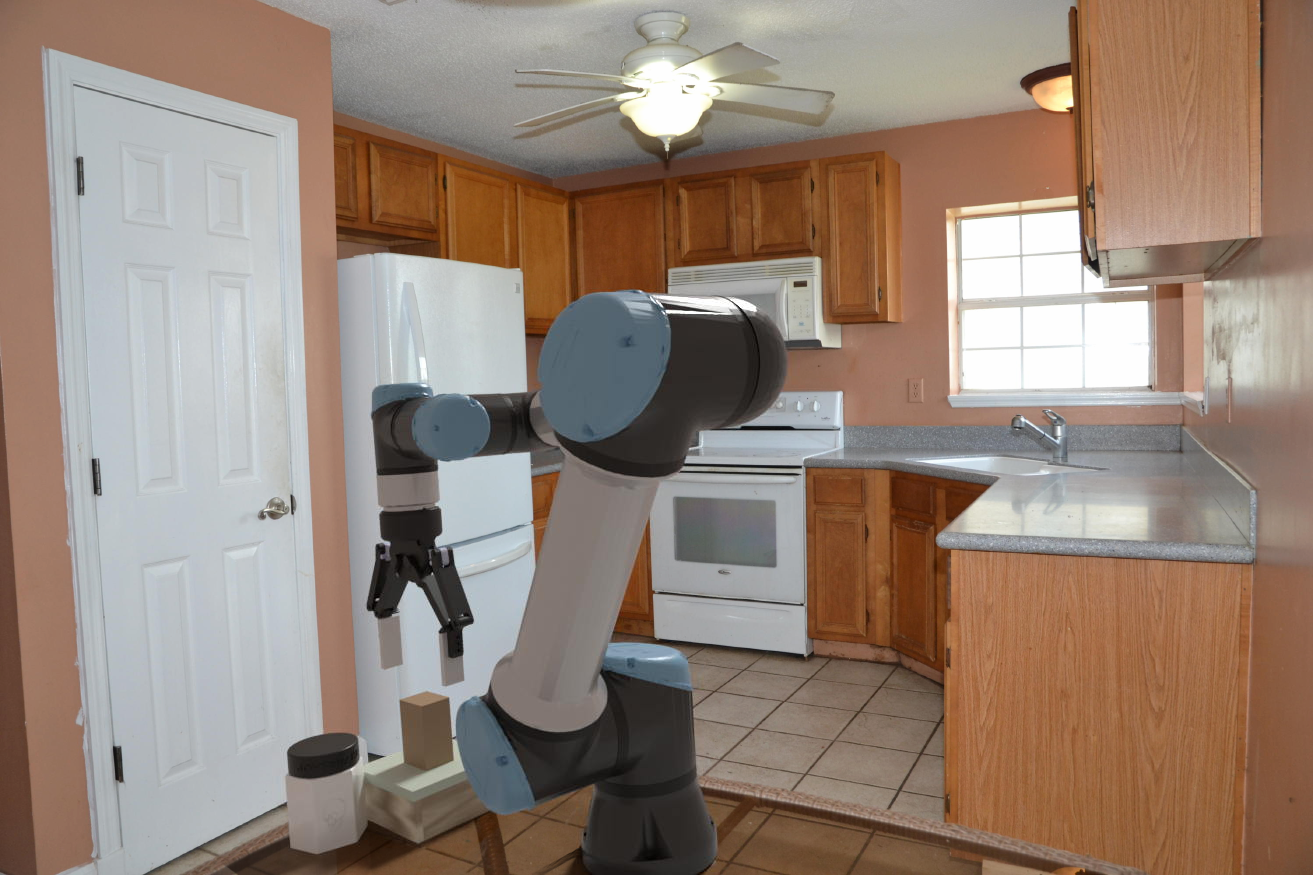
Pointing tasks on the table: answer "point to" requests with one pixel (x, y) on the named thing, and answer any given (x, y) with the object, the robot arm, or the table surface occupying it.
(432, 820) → the box
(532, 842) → the table surface
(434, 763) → the lid
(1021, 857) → the table surface
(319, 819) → the jar
